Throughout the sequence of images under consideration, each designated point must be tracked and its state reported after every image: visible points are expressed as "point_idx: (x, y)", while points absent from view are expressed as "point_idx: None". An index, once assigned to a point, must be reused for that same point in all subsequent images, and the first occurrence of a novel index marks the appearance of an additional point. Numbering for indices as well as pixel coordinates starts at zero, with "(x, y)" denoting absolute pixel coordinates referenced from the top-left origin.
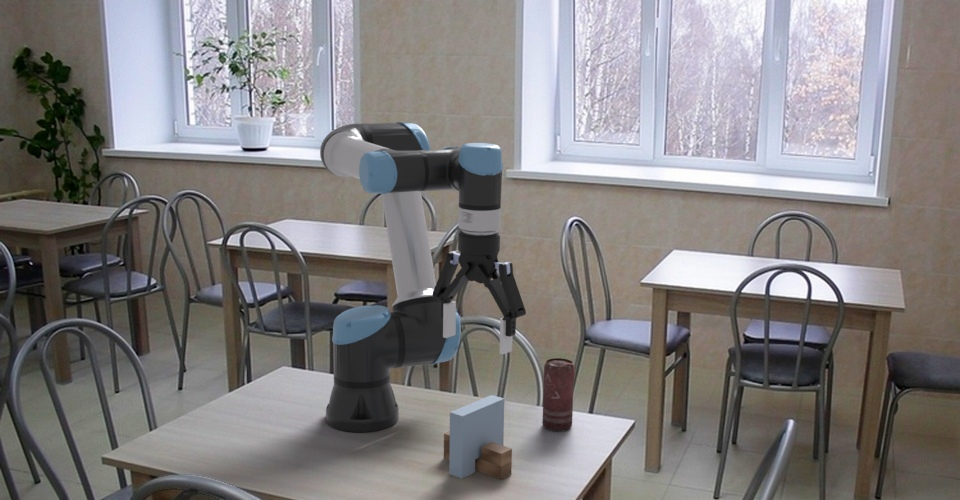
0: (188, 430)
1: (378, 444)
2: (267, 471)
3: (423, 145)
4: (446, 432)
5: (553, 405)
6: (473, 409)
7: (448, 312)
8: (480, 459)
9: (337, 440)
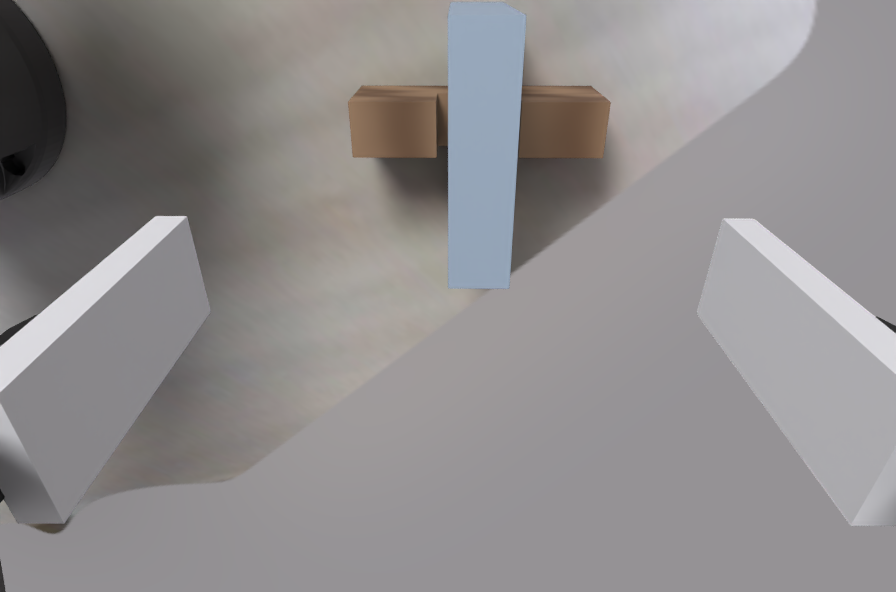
0: None
1: (163, 188)
2: (158, 431)
3: None
4: (352, 144)
5: None
6: (498, 214)
7: (107, 425)
8: None
9: (74, 242)
